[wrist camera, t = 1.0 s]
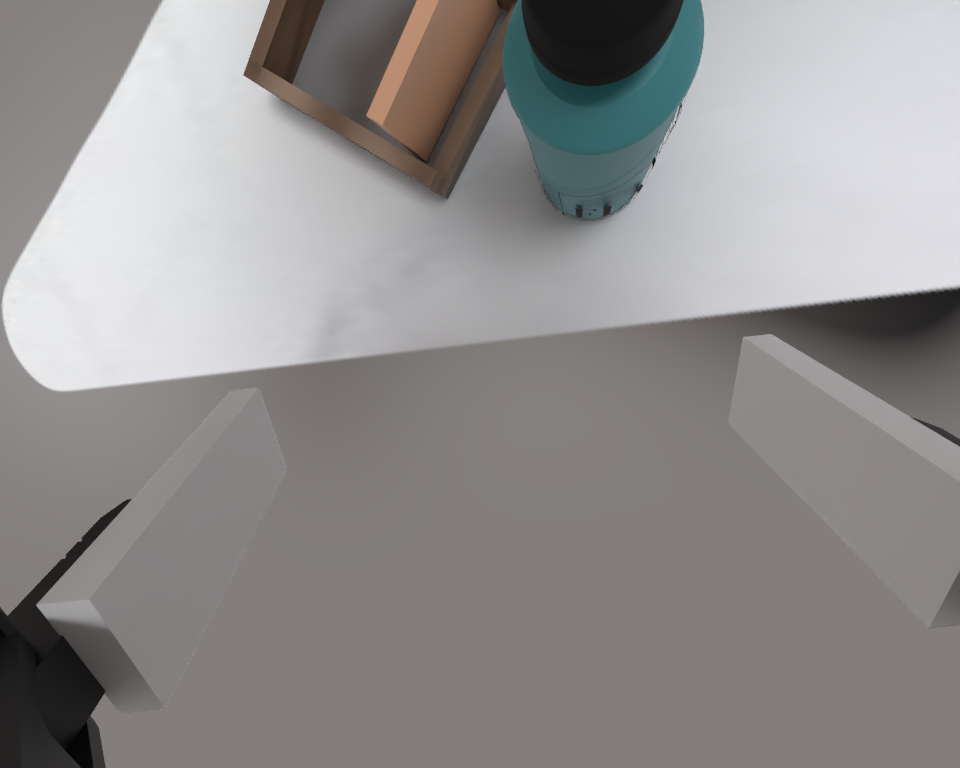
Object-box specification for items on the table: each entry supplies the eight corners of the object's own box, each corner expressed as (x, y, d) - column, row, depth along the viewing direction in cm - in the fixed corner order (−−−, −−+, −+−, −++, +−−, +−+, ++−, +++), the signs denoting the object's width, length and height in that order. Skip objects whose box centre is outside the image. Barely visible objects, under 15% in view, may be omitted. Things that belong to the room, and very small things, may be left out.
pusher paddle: (500, 11, 28) (473, -77, 21) (426, 161, 31) (382, 125, 24) (486, 3, 28) (454, -87, 21) (414, 154, 31) (366, 115, 24)
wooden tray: (541, 14, 29) (535, -26, 25) (447, 198, 32) (429, 186, 28) (353, -89, 30) (320, -142, 26) (281, 99, 33) (243, 75, 29)
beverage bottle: (565, 243, 31) (534, 165, 12) (523, 148, 30) (416, -100, 11) (663, 193, 29) (817, 2, 10) (620, 91, 28) (693, -322, 9)
